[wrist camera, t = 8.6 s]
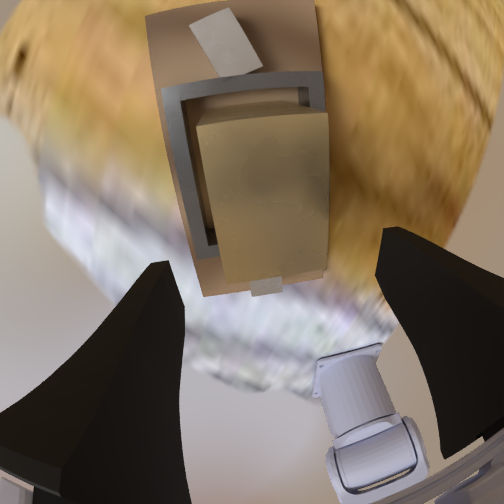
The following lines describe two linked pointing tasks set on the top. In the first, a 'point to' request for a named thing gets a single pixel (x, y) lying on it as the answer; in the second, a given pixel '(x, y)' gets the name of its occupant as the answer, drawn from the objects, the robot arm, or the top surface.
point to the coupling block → (267, 187)
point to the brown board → (227, 98)
